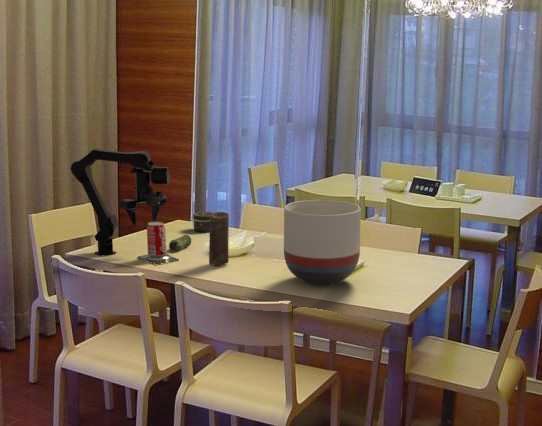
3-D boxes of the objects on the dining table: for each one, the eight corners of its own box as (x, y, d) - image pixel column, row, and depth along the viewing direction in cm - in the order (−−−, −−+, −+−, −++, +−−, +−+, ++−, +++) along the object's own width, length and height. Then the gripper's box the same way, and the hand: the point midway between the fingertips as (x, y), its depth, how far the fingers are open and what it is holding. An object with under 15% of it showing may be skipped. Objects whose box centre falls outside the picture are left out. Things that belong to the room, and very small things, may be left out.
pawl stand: (137, 257, 324) (137, 254, 323) (158, 253, 330) (158, 250, 330) (157, 265, 314) (157, 261, 313) (178, 260, 320) (178, 257, 320)
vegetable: (178, 253, 331) (177, 241, 330) (166, 252, 333) (166, 240, 332) (194, 245, 344) (194, 233, 343) (183, 244, 346) (183, 232, 345)
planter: (371, 289, 284) (373, 212, 279) (297, 296, 277) (297, 217, 271) (342, 268, 310) (344, 198, 304) (274, 274, 302) (274, 202, 296)
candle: (232, 263, 316) (232, 212, 312) (223, 268, 309) (222, 216, 305) (214, 261, 319) (214, 210, 315) (205, 266, 313) (204, 214, 308)
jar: (190, 232, 366) (190, 215, 364) (196, 227, 375) (196, 211, 374) (212, 233, 364) (212, 216, 362) (218, 228, 373) (217, 211, 372)
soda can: (163, 258, 318) (162, 225, 315) (145, 257, 319) (144, 224, 316) (168, 253, 325) (167, 221, 322) (151, 253, 326) (150, 220, 323)
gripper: (133, 189, 310) (135, 230, 314) (174, 184, 323) (175, 222, 326) (118, 185, 319) (119, 225, 322) (158, 180, 331) (159, 218, 334)
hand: (144, 222), depth 326 cm, fingers open, 9 cm apart
